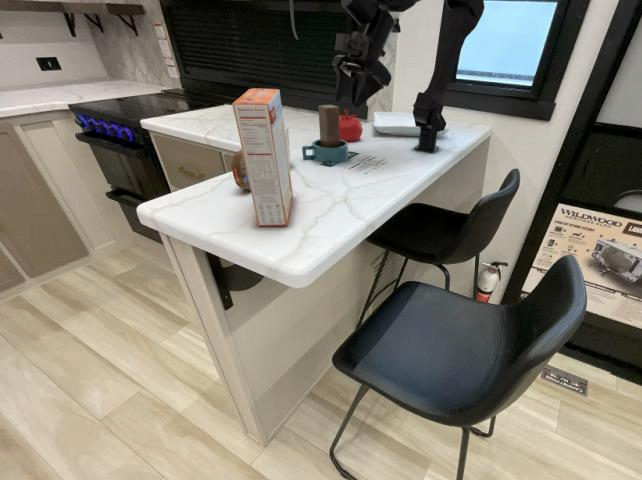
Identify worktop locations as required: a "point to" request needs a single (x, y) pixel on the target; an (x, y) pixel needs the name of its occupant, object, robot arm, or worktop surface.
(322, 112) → the block
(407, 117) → the square plate
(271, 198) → the cracker box
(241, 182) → the tin
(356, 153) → the worktop surface
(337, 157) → the teal mug
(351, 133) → the pomegranate
